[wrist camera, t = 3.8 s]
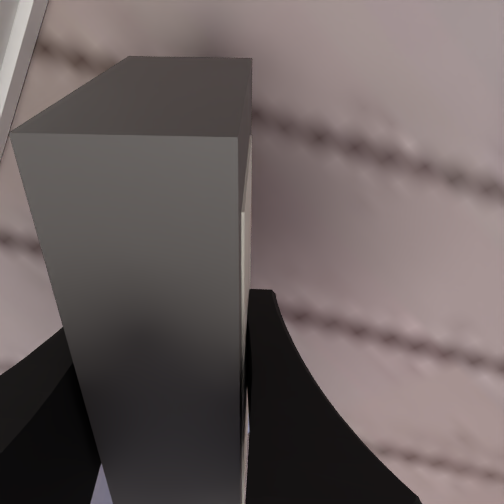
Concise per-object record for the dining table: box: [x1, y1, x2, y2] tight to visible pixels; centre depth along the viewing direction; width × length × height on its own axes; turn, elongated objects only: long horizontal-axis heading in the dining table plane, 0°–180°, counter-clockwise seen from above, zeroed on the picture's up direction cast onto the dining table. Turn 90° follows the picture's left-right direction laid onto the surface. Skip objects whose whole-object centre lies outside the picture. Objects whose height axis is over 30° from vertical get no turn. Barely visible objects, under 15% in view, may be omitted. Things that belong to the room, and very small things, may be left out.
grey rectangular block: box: [9, 56, 252, 504], centre depth 12 cm, size 12×3×6 cm, turn 179°
